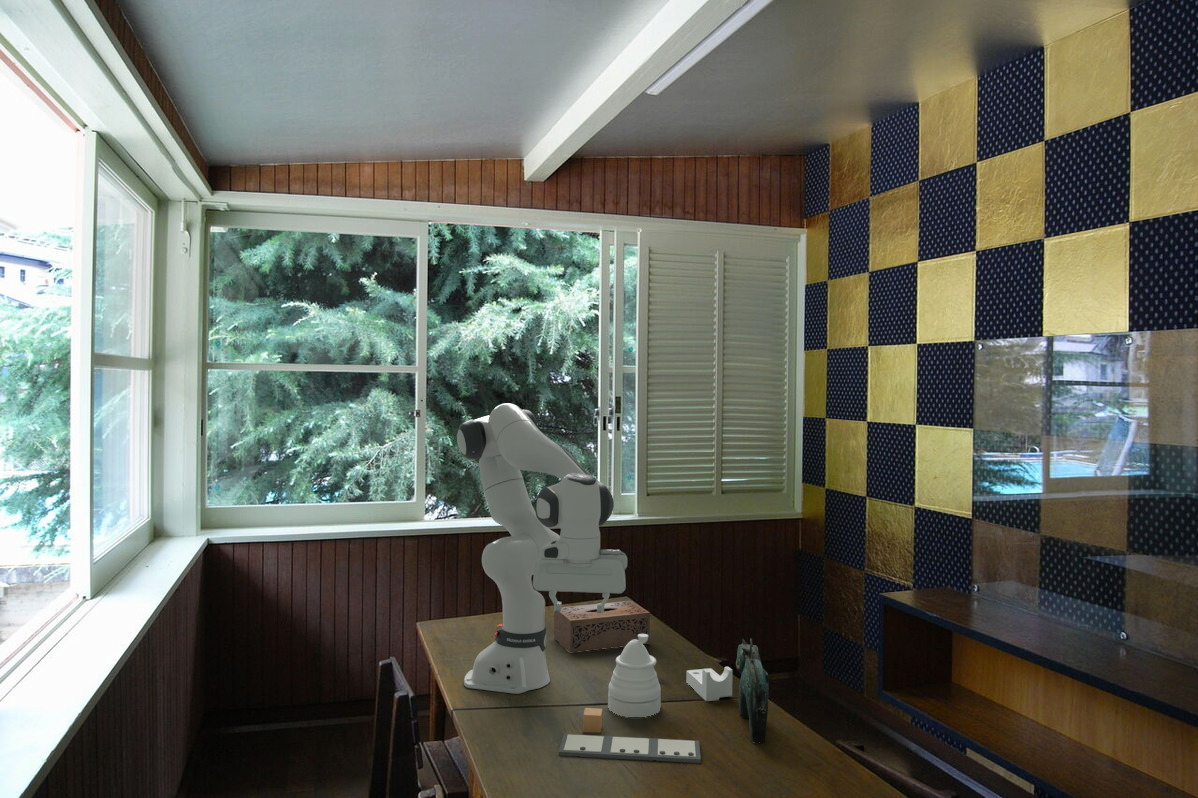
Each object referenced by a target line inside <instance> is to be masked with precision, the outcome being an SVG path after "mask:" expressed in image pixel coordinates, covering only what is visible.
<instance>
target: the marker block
mask: <svg viewBox="0 0 1198 798" xmlns="http://www.w3.org/2000/svg"><path fill="white" fill-rule="evenodd" d="M582 717H583V719H582V722H583V723H582V726H583V727H582V732H583V733H599V734H600V733H601V732H602V729H603V708H598V707H597V708H595V707H584V710H583V716H582Z"/></svg>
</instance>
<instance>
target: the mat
mask: <svg viewBox="0 0 1198 798" xmlns="http://www.w3.org/2000/svg"><path fill="white" fill-rule="evenodd" d="M561 739H562V740H561V742H560V746H559V749H558V756H559V757H560V756H562V757H577V756H579V757H580V758H599V759H614V760H615V759H617V760H618V759H619V760H620V759H621V760H635V761H636V760H640V761H653V760H656V761H657V762H658V761H659V762H674V763H675V762H676V763H678V762H679V763H692V764H693V763H695V764H696V763H697V764H701V763H702V762H701V761H702V760H701V750H700V749H701V748H700V740H691V739H690V740H689V739H677V738H676V739H674V738H671V739H670V738H655V737H654V738H652V737H635V736H634V737H631V736H614V735H613V736H612V735H597V734H596V735H592V734H577V733H576V734H574V733H573V734H572V733H563V735H562V738H561Z"/></svg>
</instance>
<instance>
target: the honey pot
mask: <svg viewBox="0 0 1198 798" xmlns="http://www.w3.org/2000/svg"><path fill="white" fill-rule="evenodd" d="M638 639H639V640H636V639H634V640H631V641H630V642H629V643H628V644H627V645H626V646H625V647H623V650H622V652H621V654H620V655H618V656H617V657H616V658H615V663H616V666H615V667H614V669H613V672H612V676H611V679H610V681H609V683H608V686H607V687H608V694H607V696H608V697H607V708H609V709H608V710H609V711H610V712H611V711H612V712H613V713H612V712H611V713H612V714H614V713H615V714H614V715H616V714H617V715H616V716H619V715H620V716H619V717H622V716H625V717H624V718H628V717H645V718H647V717H646V716H650V717H652V716H651V715H653V716H655V715H657V714H658V713H660V712H661V709H660V708H662V707H661V706H662V705H661V704H662V703H661V702H662V701H661V698H662V697H661V696H662V695H661V694H662V693H661V692H662V691H661V690H662V689H661V685H660V683H659V677H658V674H657V671H656V670H655V667H654V666H656V665H657V659H656V657H654V656H653V655H650V654H649V651H648V650H647V648H646V647H645V646H646V645H643V644H642V643H646V642H647V640H648V635H647V634H639V635H638ZM656 713H657V714H656ZM654 714H655V715H654Z"/></svg>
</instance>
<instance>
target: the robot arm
mask: <svg viewBox="0 0 1198 798" xmlns="http://www.w3.org/2000/svg"><path fill="white" fill-rule="evenodd" d="M456 433H457V434H456V442H457V447H458V448H459V451H460V453H461V454H462V456H463V457H465V458H466V459H467V460H479V465H478V468H479V474H480V481H481V485H482V488H483V492H484V496H485V499H486V503H487V505H488V508H489V513H490V516H491V518H492V520H493V521H494V522H495V523H496V524H498V525H500V526H503V528H505V529H506V531H507V532H509V534H510V536H504V537H501V538H499V539H495V540H494V541H492V542H490V543H488V544H486V545H485V547H484V548H483V551H482V554H481V566H482V568H483V570H484V573H485V574H486V575H487V576H488V577H489V578H490V579H491V580H493V582H495V584H496V585H497V588H498V590H499V592H500V596H501V603H502V623H500V624H498V625H497V626H496V628H495V631H494V641H493V642H492V643H491V644H489V645H488V646H487V647H486V648H484V649H483V650H481V651H480V652H479V653H478V655H477V656H476V658H475V660H474V664H473V666H472V669H471V670H469V671H468V672H466V674H465V676H464V679H463V685H464V686H465V688H467V689H474V690H475V689H476V690H485V691H492V692H498V693H505V694H507V693H508V694H515V695H517V694H522V693H526V692H528V691H531V690H536V689H540V688H542V687H545V686H547V685H548V684H549V683H550V682H551V677H550V675H549V671H548V665H547V657H546V648H547V643H548V642H547V628H546V626H545V621H546V618H545V617H546V601H545V598H544V596H543V595H542V594H541V593H540V591H541V592H548V597H549V598H550V600H551V602H552V604H553V612H554V611H561V607H562V601H558V599H557V597H556V595H557V594H558V593H557V592H568V593H572V592H573V593H594V594H595V593H597V594H599V593H600V594H601V593H602V598H603V600H602V601H601V602H600V603H599V602H598V603H596V604H597V613H604V605H605V603H608V600H609V598H610V594H622V593H624V591H625V590H626V584H627V583H626V573H625V570H627V568H628V556H627V554H626V553H625V552H623V551H621V550H620V549H608V548H607V549H604V548H601V531H600V527H601V526H603V525H604V524H605V523H606V522H607V521H608V520H609V518H610V517H611V515H612V513H613V511H614V506H615V502H614V498H613V495H612V492H611V491H610V489H609V488H608V487H607V485H605V484H604V483H602V482H601V481H599V480H598V479H597V478H596V477H594V476H593V475H592V474H590V473H589V472H588V470H587V469H586V468H585V467H584V466H582V464H581V463H580V462H579V461H578V460H577V459H576V458H575V457H574V456H573V455H572V454H571V453H570V452H569V451H568V450H567V449H566V448H564V447H563V446H562V445H560V444H558V443H556V442H554V441H553V440H551V438H549V437H548V436H547V435H546V434H544V433H543V432H542V431H541V430H540V429H539V424H538V421H537V418H536V416H535V415H534V413H533V412H531V411H530V410H529V409H522V408H520V407H519V406H518V405H516V404H515V403H509V402H508V403H501V404H499V405H497V406H495V408H494V409H492V410H491V412H490V413H489V415H485V416H481V417H478V418H476V419H469V420H467V421H464V422H461V424H460V425H459V427H458V429H457V432H456ZM521 471H527V472H536V473H537V472H538V473H544V474H548V475H552V476H554V477H556V478H558V479H560V480H561V481H559V482H557V483H556V484H553V485H548V486H545V487H543V488H542V489H541V490H540V491H539V493H538V494H537V495H536V496H537V497H536V498H535V504H534V505H535V506H533V504H532V501H531V498H530V495H529V493H528V490H527V486H526V484H525V480H524V477H523V474H522V472H521ZM550 528H551V529H556V528H557V529H560V532H559V533H560V534H558V533H556V532H555V531H553V530H551V529H550ZM532 577H533V579H532Z"/></svg>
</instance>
